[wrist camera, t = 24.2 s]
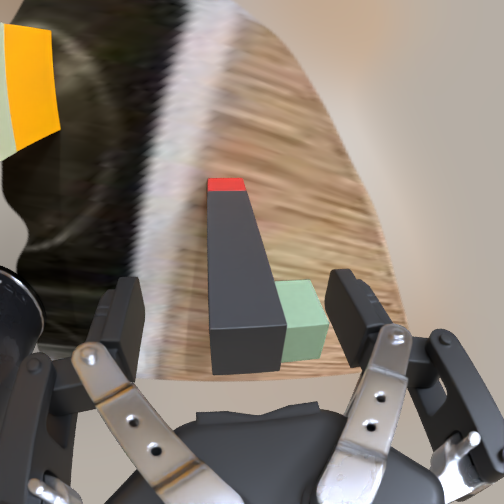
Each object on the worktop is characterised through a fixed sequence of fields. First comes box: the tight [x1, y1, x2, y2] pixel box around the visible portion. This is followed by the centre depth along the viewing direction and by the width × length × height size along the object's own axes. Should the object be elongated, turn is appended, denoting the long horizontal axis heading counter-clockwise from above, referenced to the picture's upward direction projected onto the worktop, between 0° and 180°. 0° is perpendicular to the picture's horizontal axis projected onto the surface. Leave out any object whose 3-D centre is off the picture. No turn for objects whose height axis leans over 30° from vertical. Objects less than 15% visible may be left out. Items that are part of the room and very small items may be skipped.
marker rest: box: [274, 280, 329, 363], centre depth 25 cm, size 4×5×6 cm
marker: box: [207, 178, 287, 375], centre depth 16 cm, size 14×2×2 cm
